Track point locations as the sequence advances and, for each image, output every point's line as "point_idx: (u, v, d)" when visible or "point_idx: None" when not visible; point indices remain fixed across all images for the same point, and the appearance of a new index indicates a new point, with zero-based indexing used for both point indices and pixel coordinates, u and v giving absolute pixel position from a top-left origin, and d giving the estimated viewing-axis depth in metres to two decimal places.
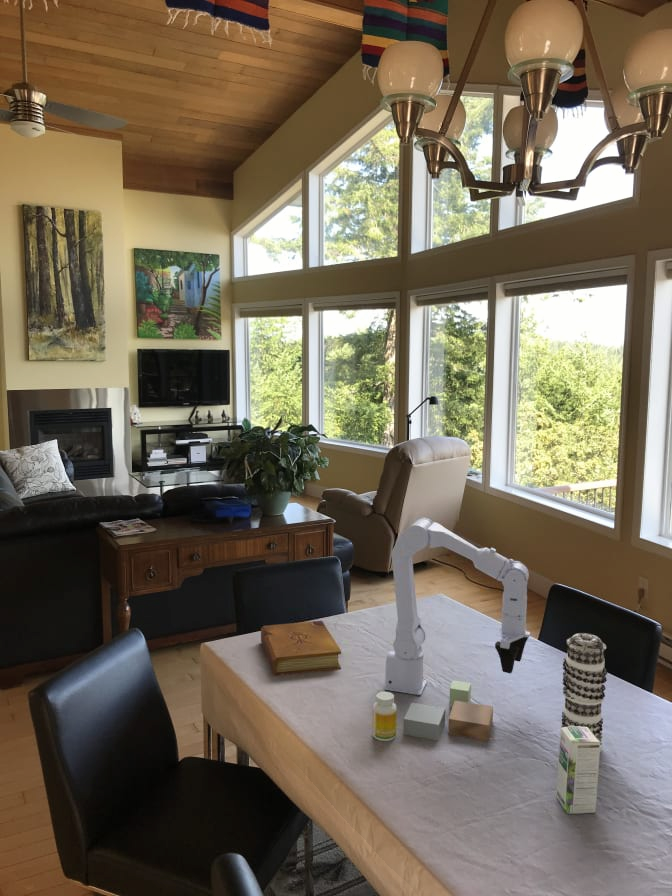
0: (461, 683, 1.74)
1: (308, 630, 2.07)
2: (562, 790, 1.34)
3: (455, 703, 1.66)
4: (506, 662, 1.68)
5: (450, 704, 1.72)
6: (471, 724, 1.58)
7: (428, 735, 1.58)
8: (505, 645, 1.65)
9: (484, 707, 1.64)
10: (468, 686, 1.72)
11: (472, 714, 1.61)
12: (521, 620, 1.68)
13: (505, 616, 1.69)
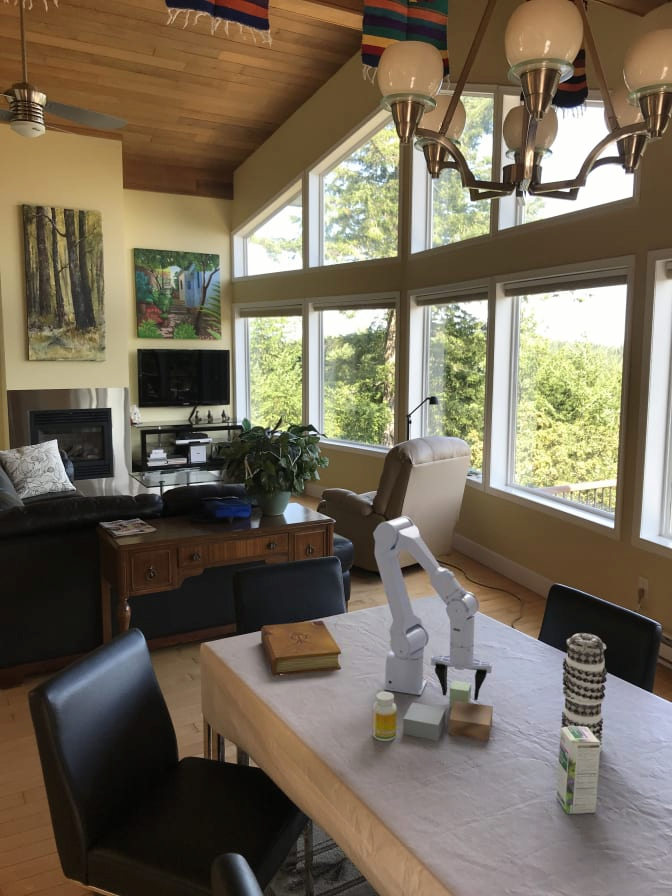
0: (461, 683, 1.74)
1: (308, 630, 2.07)
2: (562, 790, 1.34)
3: (455, 703, 1.66)
4: None
5: (450, 704, 1.72)
6: (471, 724, 1.58)
7: (428, 735, 1.58)
8: None
9: (484, 707, 1.65)
10: (468, 686, 1.72)
11: (472, 714, 1.61)
12: (453, 649, 1.70)
13: None
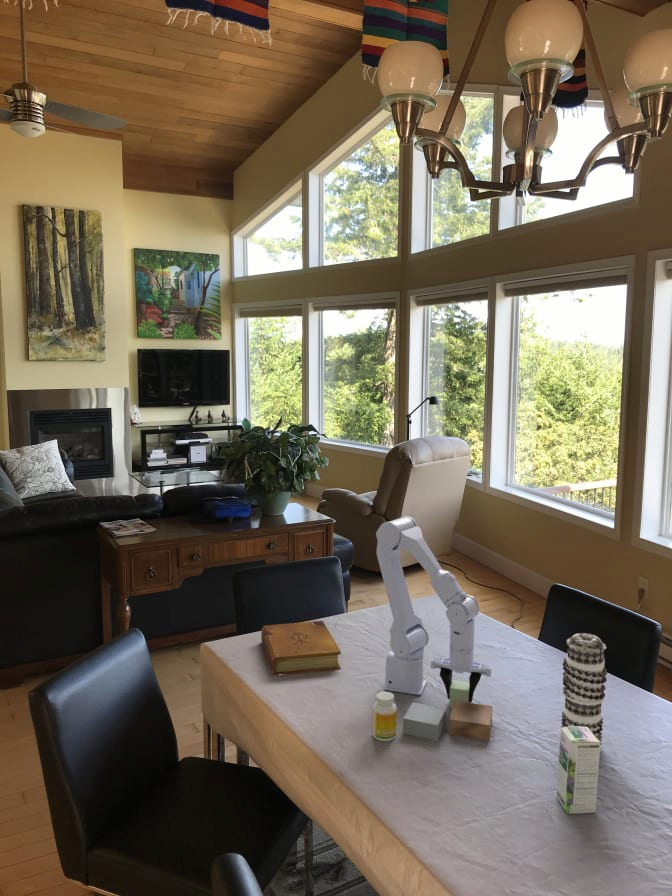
0: (461, 683, 1.74)
1: (308, 630, 2.07)
2: (562, 790, 1.34)
3: (454, 703, 1.66)
4: None
5: (450, 704, 1.72)
6: (472, 724, 1.58)
7: (427, 735, 1.58)
8: None
9: (483, 707, 1.65)
10: (468, 686, 1.72)
11: (472, 714, 1.61)
12: (453, 652, 1.70)
13: None
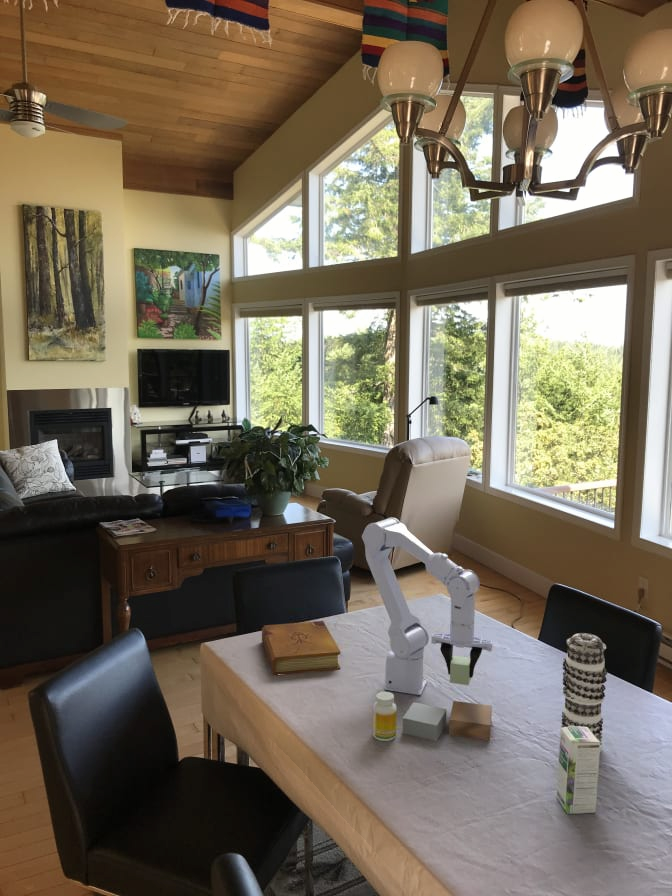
0: (462, 658, 1.73)
1: (308, 630, 2.07)
2: (562, 790, 1.34)
3: (454, 703, 1.66)
4: None
5: (451, 679, 1.71)
6: (472, 724, 1.58)
7: (426, 735, 1.58)
8: None
9: (483, 706, 1.65)
10: (469, 661, 1.71)
11: (472, 714, 1.61)
12: (454, 627, 1.69)
13: None
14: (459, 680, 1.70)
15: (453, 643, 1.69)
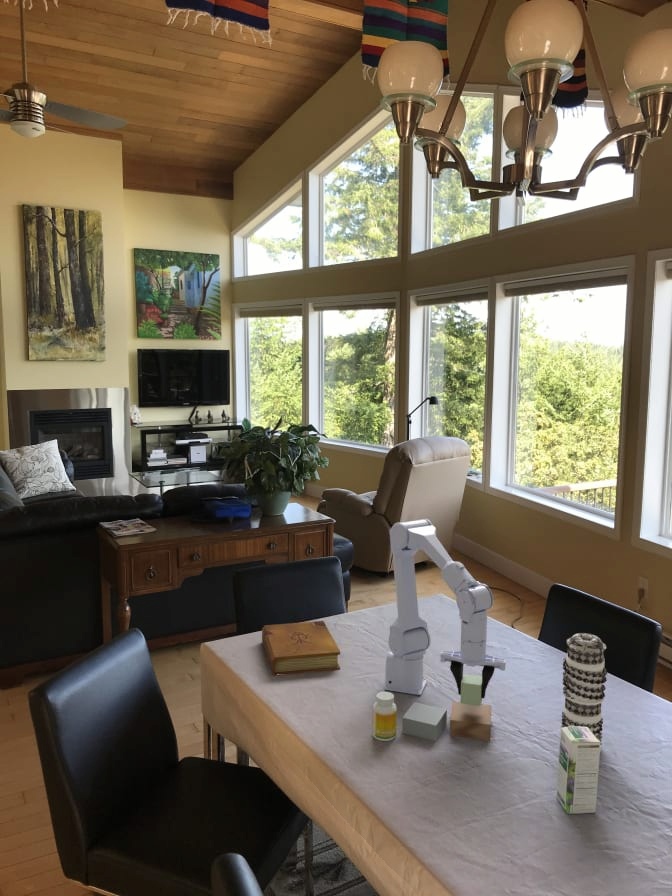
0: (473, 677, 1.62)
1: (309, 630, 2.07)
2: (562, 790, 1.34)
3: (454, 704, 1.66)
4: None
5: (461, 699, 1.60)
6: (473, 724, 1.58)
7: (426, 735, 1.58)
8: (441, 657, 1.63)
9: (483, 706, 1.65)
10: (480, 680, 1.61)
11: (472, 714, 1.61)
12: (464, 644, 1.58)
13: None
14: (470, 701, 1.60)
15: (464, 661, 1.58)
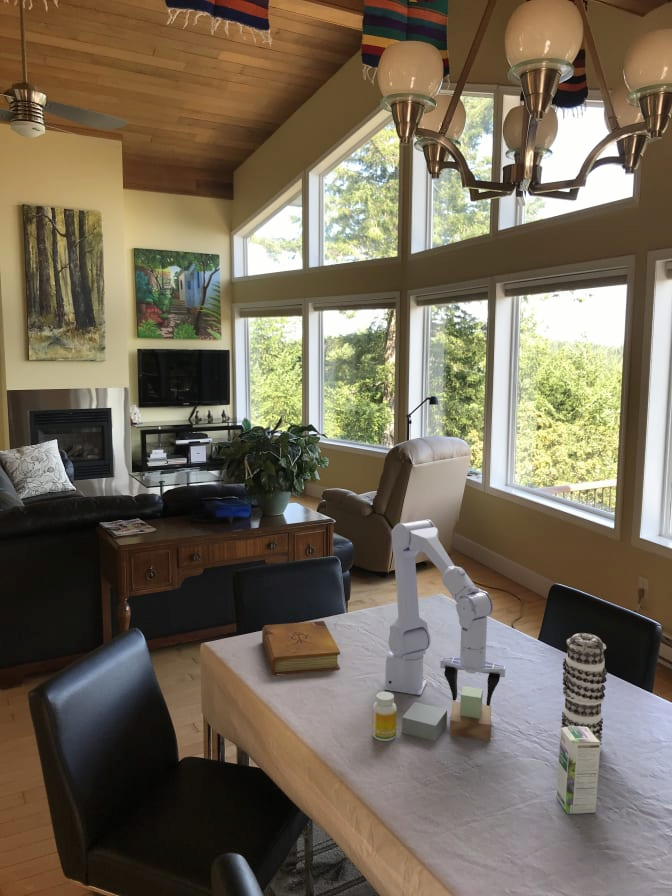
0: (472, 689, 1.63)
1: (309, 630, 2.07)
2: (562, 790, 1.34)
3: (453, 704, 1.66)
4: None
5: (461, 712, 1.60)
6: (473, 724, 1.58)
7: (425, 735, 1.58)
8: None
9: (483, 706, 1.65)
10: (480, 692, 1.61)
11: None
12: (464, 651, 1.58)
13: None
14: (470, 713, 1.60)
15: (464, 668, 1.59)
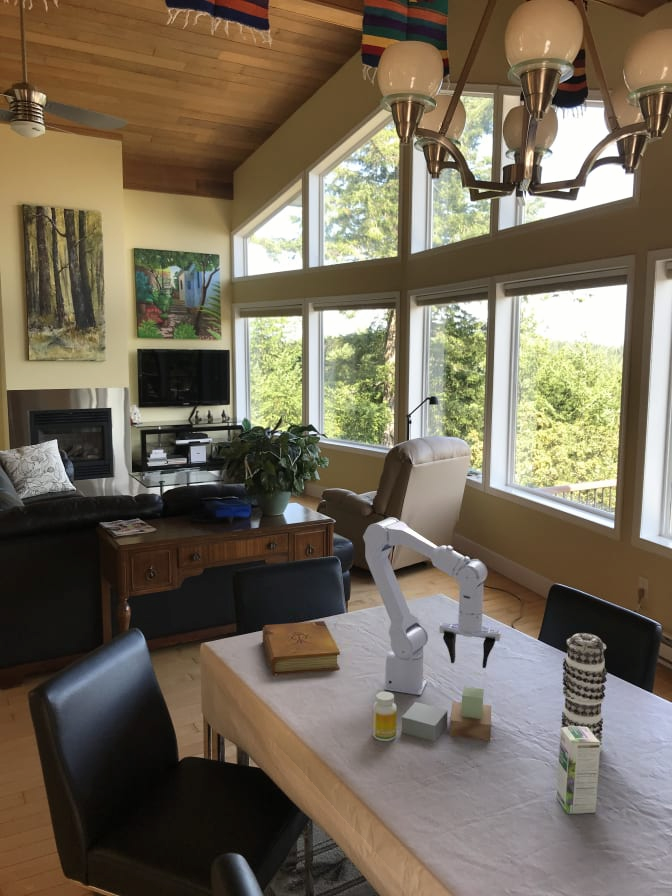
0: (473, 689, 1.63)
1: (309, 630, 2.07)
2: (562, 790, 1.34)
3: (453, 704, 1.66)
4: None
5: (462, 712, 1.60)
6: (473, 724, 1.58)
7: (425, 735, 1.58)
8: None
9: None
10: (481, 693, 1.61)
11: None
12: (462, 616, 1.69)
13: None
14: (471, 713, 1.60)
15: (461, 632, 1.69)
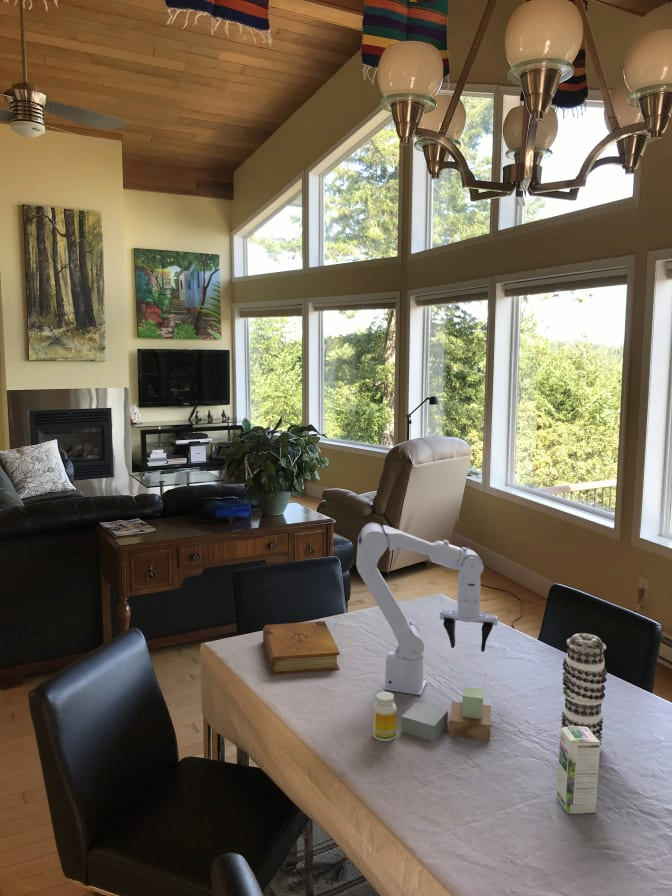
0: (473, 690, 1.62)
1: (309, 630, 2.07)
2: (562, 790, 1.34)
3: (453, 704, 1.66)
4: None
5: (463, 713, 1.60)
6: (472, 724, 1.58)
7: (424, 735, 1.58)
8: None
9: None
10: (481, 693, 1.61)
11: None
12: (461, 603, 1.78)
13: None
14: (472, 714, 1.60)
15: (460, 618, 1.78)
